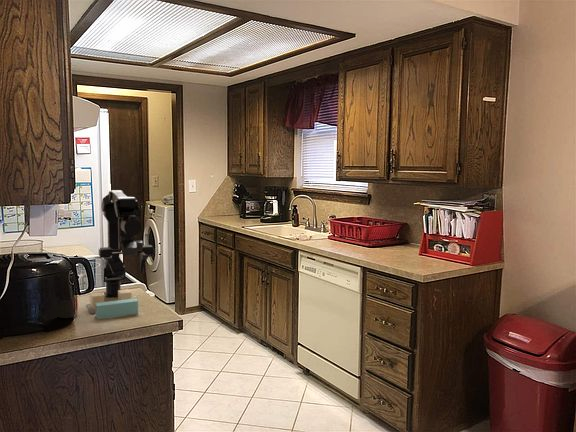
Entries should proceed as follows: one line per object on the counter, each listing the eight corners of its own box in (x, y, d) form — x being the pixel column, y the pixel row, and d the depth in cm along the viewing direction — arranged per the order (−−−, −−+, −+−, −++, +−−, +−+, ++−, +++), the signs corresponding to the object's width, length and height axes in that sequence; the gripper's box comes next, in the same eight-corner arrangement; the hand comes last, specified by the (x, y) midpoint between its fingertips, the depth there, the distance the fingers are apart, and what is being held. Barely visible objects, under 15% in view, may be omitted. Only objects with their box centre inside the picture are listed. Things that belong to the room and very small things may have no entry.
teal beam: (95, 316, 175) (95, 303, 174) (135, 311, 182) (135, 298, 181) (97, 319, 171) (97, 306, 171) (138, 314, 178) (137, 301, 178)
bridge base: (86, 305, 187) (86, 291, 186) (129, 300, 195) (129, 286, 194) (91, 314, 177) (91, 299, 176) (136, 308, 185) (136, 294, 184)
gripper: (101, 236, 163) (102, 282, 165) (157, 233, 172) (158, 277, 173) (98, 232, 173) (99, 275, 175) (151, 229, 182) (152, 270, 183)
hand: (127, 274), depth 176 cm, fingers open, 9 cm apart
